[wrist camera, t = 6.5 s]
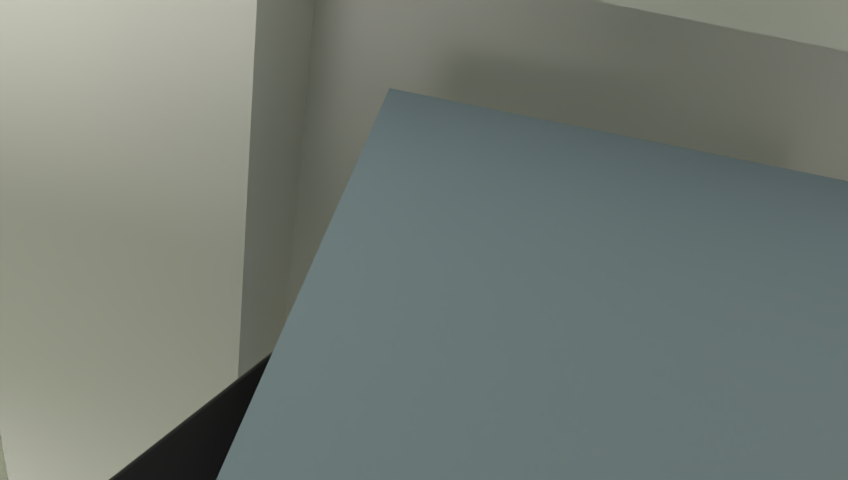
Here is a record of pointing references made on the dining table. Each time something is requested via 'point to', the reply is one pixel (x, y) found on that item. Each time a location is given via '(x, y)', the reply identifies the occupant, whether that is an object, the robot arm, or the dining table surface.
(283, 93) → the well
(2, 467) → the dining table surface
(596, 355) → the block
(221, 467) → the robot arm
